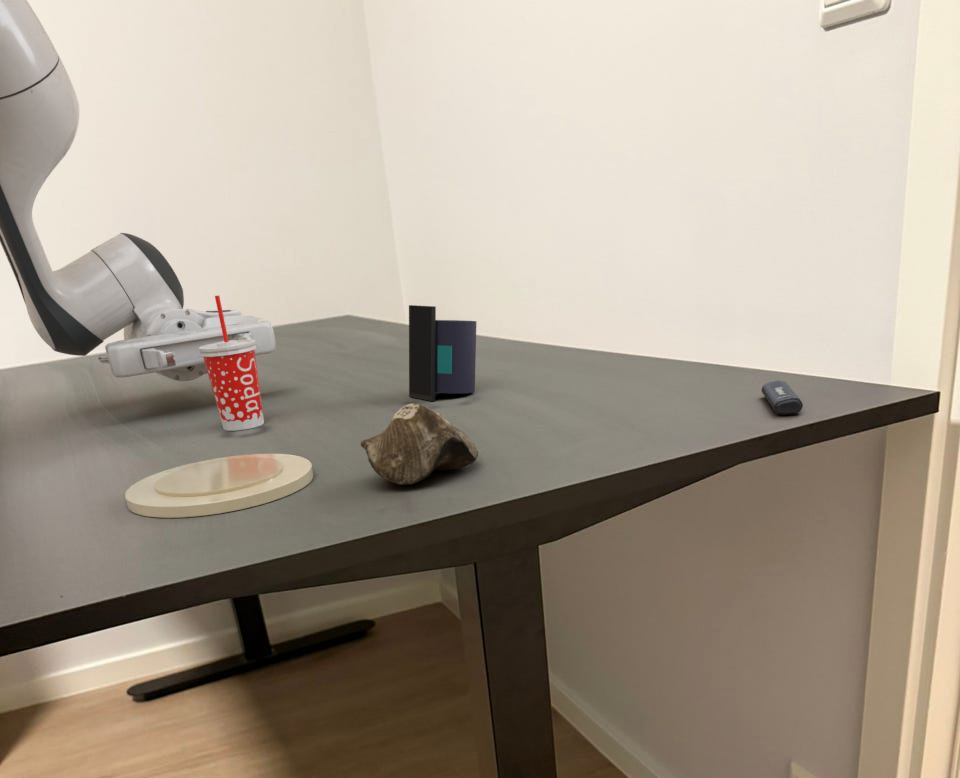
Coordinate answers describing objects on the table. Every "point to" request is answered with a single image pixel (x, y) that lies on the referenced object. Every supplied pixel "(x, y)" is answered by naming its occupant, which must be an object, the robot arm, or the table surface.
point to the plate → (219, 485)
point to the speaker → (440, 354)
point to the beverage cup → (234, 380)
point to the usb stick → (782, 398)
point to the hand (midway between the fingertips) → (208, 352)
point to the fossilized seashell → (418, 446)
